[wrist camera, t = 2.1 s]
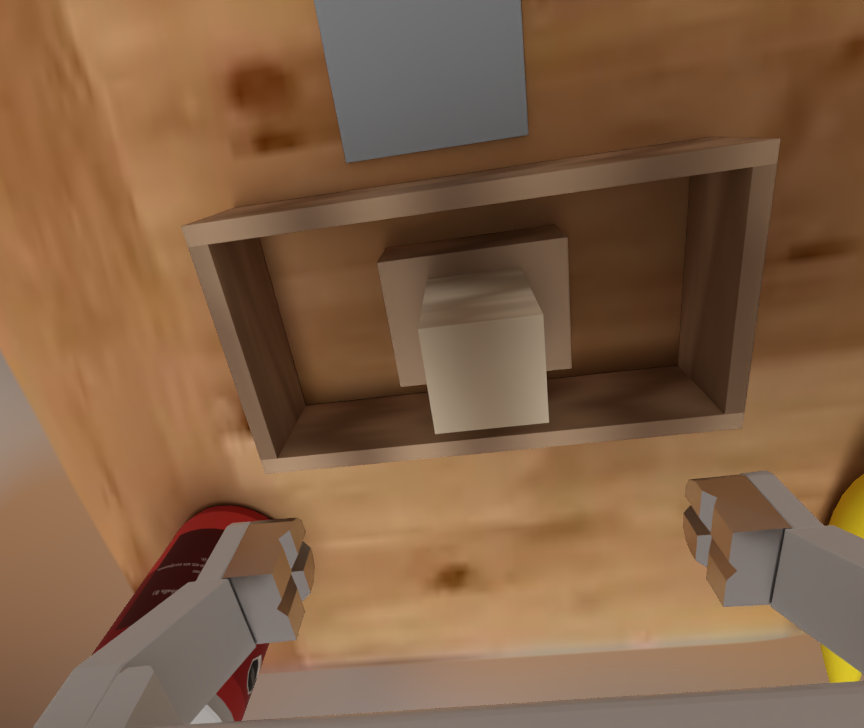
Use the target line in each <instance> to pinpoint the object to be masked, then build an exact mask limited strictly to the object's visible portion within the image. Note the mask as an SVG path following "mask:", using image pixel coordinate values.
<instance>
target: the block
mask: <svg viewBox="0 0 864 728" xmlns="http://www.w3.org/2000/svg"><path fill="white" fill-rule="evenodd" d="M418 333H419V339H420V345H421V351H422V357H423V364H424V370H425V376H426V382H427V388H428V394H429V400H430V406H431V412H432V418H433V424H434V430H435V434H440V433H450V432H460V431H470V430H480V429H490V428H500V427H510V426H520V425H530V424H540V423H549V411H548V393H547V374H546V356H545V337H544V319H543V313H542V311H541V309H540V306H539V304H538V302H537V300H536V298H535V296H534V294H533V292H532V290H531V288H530V286H529V284H528V282H527V280H526V278H525V276H524V274H523V272H522V270H521V268H512V269H505V270H497V271H489V272H482V273H474V274H466V275H458V276H451V277H443V278H435V279H428V280H427V282H426V287H425V293H424V298H423V304H422V309H421V315H420V320H419V326H418Z"/></svg>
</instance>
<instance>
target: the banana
mask: <svg viewBox="0 0 864 728" xmlns="http://www.w3.org/2000/svg"><path fill="white" fill-rule="evenodd" d="M829 525H834V526H836V527H838V528H840V529H843V530H845V531H847V532H849V533H852V534H854V535H856V536H859V537H861V538H863V539H864V474H863V475H861V476H860V477H859V478H857V479H856V480H855V481H854V482H853V483H852V484H851V485H850V487H849V488H848V489H847V490H846V491H845V492H844V494H843V495H842V497H841V499H840V500H839V502H838V504H837V506H836V508H835V510H834V511H833V514H832V516H831V519H830V522H829ZM820 645H821V650H822V654H823V659H824V663H825V667H826V670H827V674H828V677H829V681H830V683H838V682H854V681H859V680H860V677H861V674H862V673H861V672H859V671H858V670H857V669H855V668H854V667H853V666H851V665H850V664H848V663H847V662H846V661H844V660H843V659H842V658H840V657H839V656H837V655H836V654H835V653H833V652H832V651H831V650H829V649H828V648H827V647H825V646H824V645H822V644H821V643H820Z"/></svg>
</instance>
